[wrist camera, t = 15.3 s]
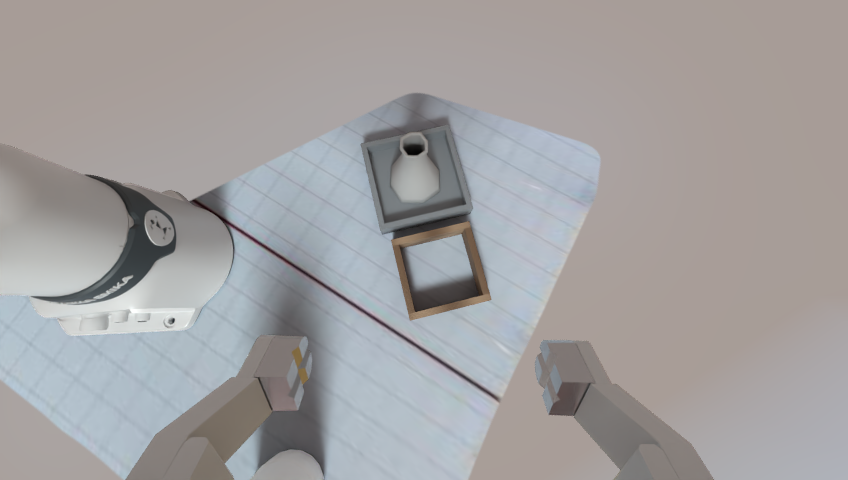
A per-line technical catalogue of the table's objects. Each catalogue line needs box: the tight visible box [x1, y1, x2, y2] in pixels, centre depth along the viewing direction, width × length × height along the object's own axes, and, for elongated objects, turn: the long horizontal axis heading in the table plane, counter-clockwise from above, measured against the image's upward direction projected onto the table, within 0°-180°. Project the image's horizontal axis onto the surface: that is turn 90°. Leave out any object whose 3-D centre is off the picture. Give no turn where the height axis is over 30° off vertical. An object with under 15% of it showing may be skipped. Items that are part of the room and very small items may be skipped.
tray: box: [361, 125, 473, 234], centre depth 45 cm, size 12×12×2 cm
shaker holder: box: [391, 221, 491, 321], centre depth 42 cm, size 10×10×3 cm
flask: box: [390, 132, 440, 203], centre depth 40 cm, size 7×7×10 cm
